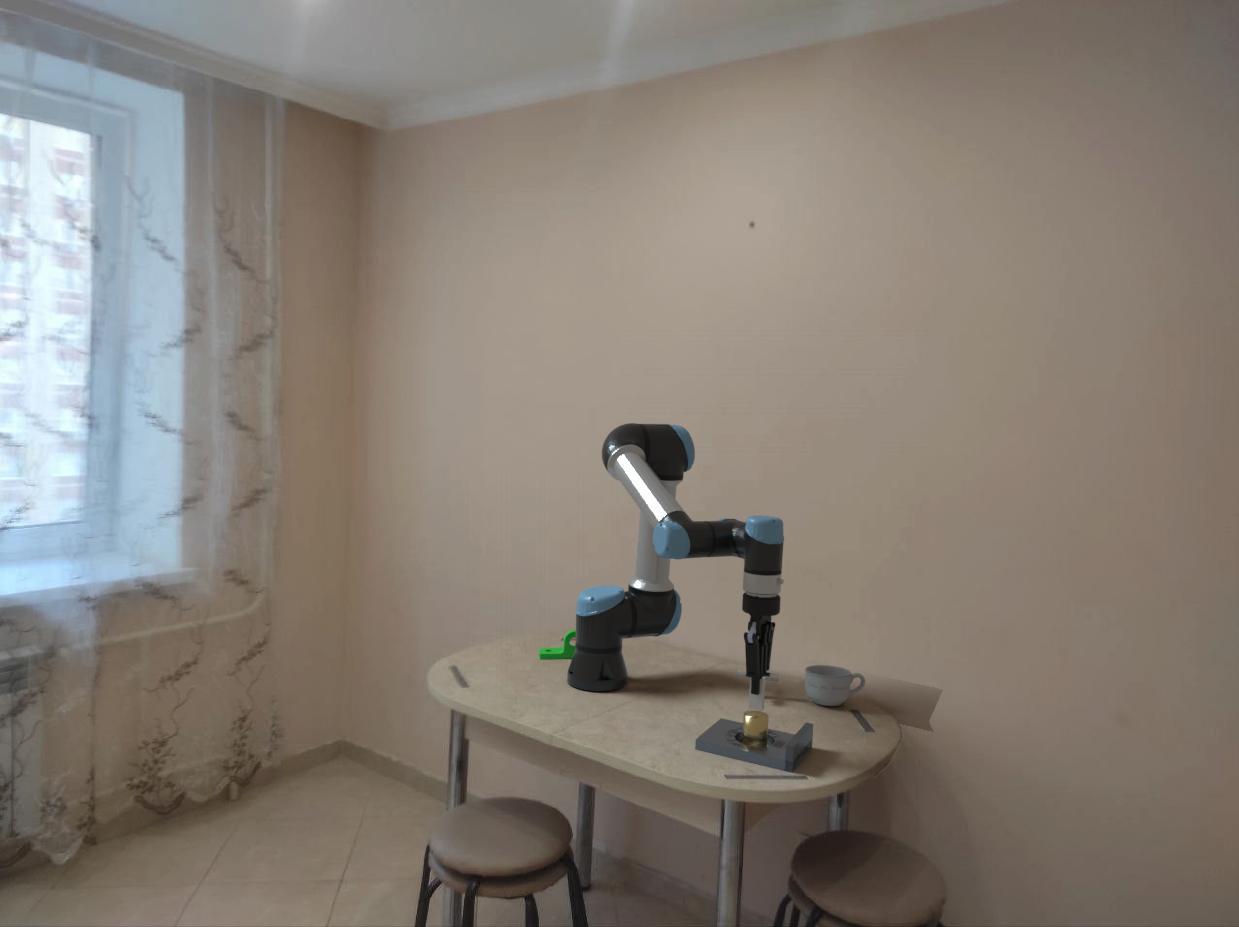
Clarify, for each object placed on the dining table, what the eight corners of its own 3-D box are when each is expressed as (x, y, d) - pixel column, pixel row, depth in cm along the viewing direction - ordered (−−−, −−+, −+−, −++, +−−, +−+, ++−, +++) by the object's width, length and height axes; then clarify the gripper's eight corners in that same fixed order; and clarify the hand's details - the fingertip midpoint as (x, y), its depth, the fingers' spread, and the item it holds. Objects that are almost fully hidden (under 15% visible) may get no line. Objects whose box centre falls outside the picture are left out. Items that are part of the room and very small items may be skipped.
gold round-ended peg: (738, 749, 168) (740, 715, 167) (746, 741, 172) (748, 708, 172) (762, 755, 165) (764, 721, 165) (770, 747, 170) (771, 713, 169)
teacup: (800, 705, 195) (802, 672, 195) (806, 692, 205) (808, 660, 205) (862, 715, 190) (863, 680, 190) (865, 700, 201) (866, 668, 200)
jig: (695, 748, 167) (696, 724, 167) (720, 727, 180) (721, 704, 179) (792, 772, 158) (793, 746, 158) (812, 747, 170) (813, 723, 170)
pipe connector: (777, 705, 195) (779, 663, 194) (734, 700, 197) (736, 659, 196) (778, 691, 205) (780, 651, 204) (737, 687, 207) (739, 648, 206)
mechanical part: (580, 654, 231) (581, 625, 231) (584, 660, 225) (585, 631, 225) (537, 654, 229) (538, 626, 228) (539, 661, 223) (540, 632, 222)
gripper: (769, 601, 159) (763, 721, 161) (789, 590, 171) (783, 702, 172) (732, 596, 163) (727, 714, 164) (754, 585, 174) (749, 695, 176)
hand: (756, 708), depth 168 cm, fingers closed
